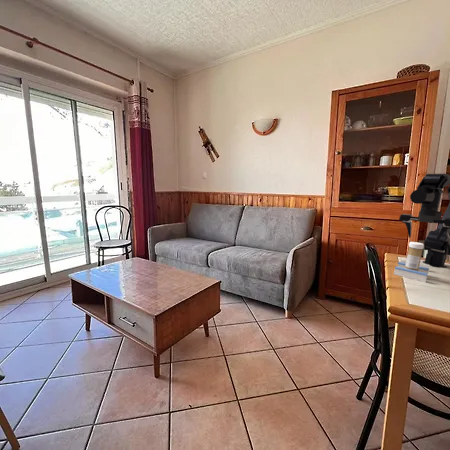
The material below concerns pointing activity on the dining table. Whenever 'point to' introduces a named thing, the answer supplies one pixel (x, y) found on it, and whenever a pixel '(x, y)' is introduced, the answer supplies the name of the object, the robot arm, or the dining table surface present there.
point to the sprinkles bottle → (414, 256)
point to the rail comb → (412, 271)
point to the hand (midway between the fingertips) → (422, 239)
